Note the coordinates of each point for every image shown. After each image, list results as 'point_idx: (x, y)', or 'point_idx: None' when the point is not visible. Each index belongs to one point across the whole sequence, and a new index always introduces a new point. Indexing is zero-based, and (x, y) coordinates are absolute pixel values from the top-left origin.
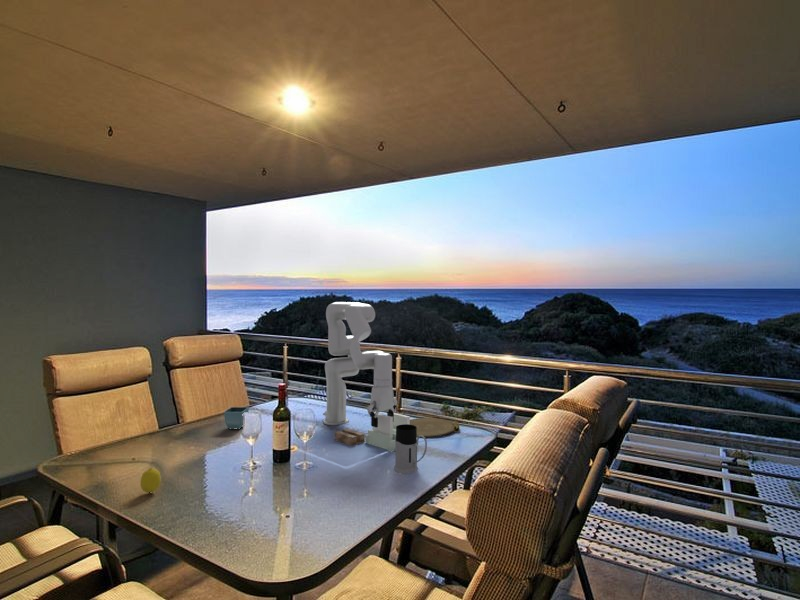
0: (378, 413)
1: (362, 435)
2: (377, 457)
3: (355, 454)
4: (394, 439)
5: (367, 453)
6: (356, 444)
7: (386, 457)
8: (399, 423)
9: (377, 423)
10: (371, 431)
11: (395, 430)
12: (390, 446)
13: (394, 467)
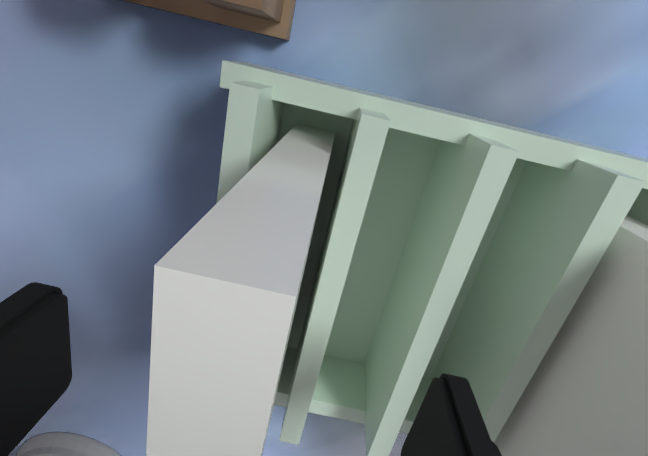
0: (263, 419)
1: (226, 2)
2: (88, 301)
3: (8, 128)
4: (292, 377)
5: (94, 203)
6: (145, 2)
7: (129, 347)
8: (573, 415)
9: (12, 434)
10: (224, 160)
11: (396, 391)
12: None
13: (30, 444)
